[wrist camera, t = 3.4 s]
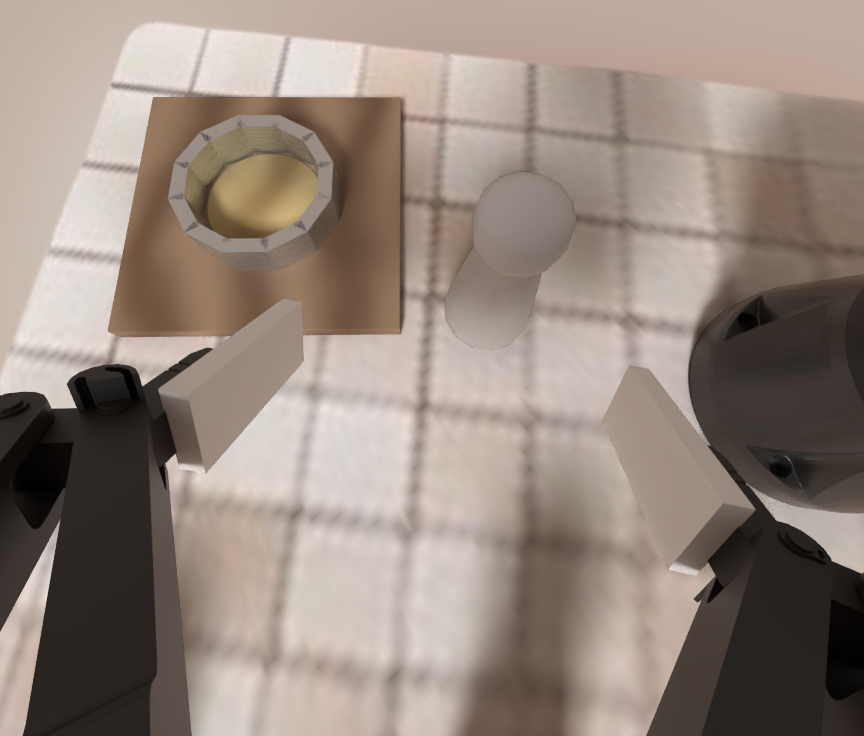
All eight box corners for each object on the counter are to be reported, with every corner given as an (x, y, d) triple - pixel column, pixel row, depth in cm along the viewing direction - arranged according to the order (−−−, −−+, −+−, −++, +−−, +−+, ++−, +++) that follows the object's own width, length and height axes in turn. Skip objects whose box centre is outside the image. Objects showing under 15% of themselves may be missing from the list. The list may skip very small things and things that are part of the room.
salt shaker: (428, 305, 28) (431, 179, 15) (493, 271, 28) (548, 123, 16) (469, 372, 27) (508, 296, 14) (536, 335, 27) (631, 230, 15)
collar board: (401, 110, 32) (398, 66, 28) (400, 334, 27) (396, 315, 24) (163, 110, 31) (129, 65, 28) (121, 336, 27) (74, 318, 23)
